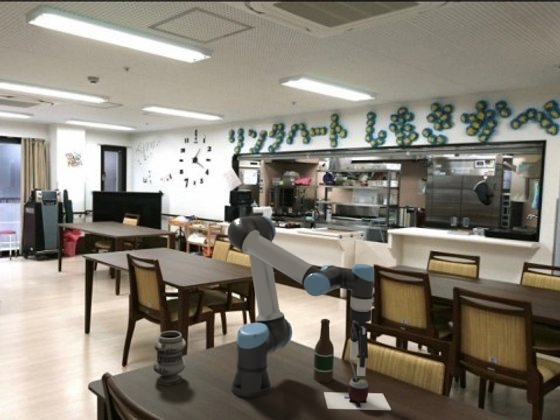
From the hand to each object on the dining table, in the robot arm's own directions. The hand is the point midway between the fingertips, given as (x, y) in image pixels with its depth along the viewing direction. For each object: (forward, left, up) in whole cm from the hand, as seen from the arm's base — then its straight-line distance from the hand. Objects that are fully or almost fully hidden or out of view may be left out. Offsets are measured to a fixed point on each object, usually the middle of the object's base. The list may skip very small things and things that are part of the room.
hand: (357, 367), depth 161 cm
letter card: (0, +1, -13) cm, 13 cm away
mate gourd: (0, 0, -13) cm, 13 cm away
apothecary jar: (-70, +15, -13) cm, 72 cm away
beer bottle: (-10, +18, -13) cm, 24 cm away
